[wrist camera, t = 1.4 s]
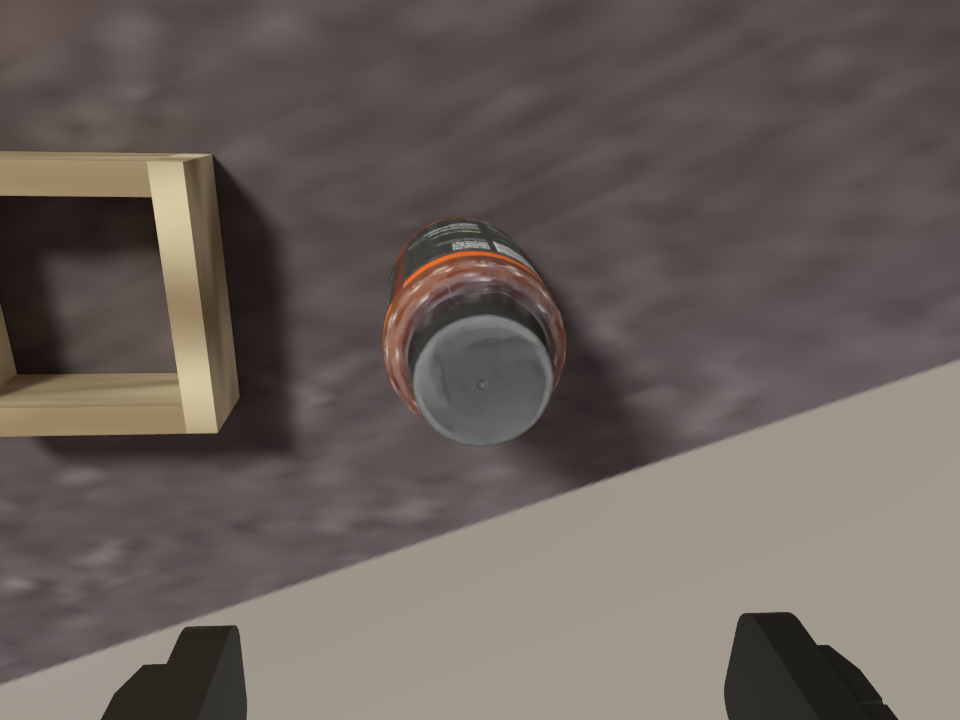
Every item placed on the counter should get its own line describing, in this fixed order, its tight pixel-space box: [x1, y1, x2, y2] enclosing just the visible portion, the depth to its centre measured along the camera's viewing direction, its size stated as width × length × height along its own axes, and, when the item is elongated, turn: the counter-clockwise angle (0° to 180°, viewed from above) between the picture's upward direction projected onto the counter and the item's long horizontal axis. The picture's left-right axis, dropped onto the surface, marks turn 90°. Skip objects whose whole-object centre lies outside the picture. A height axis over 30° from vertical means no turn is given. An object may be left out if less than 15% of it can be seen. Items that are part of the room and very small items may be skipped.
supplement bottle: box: [382, 217, 567, 446], centre depth 24 cm, size 6×6×11 cm
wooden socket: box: [0, 151, 240, 437], centre depth 27 cm, size 10×10×4 cm
